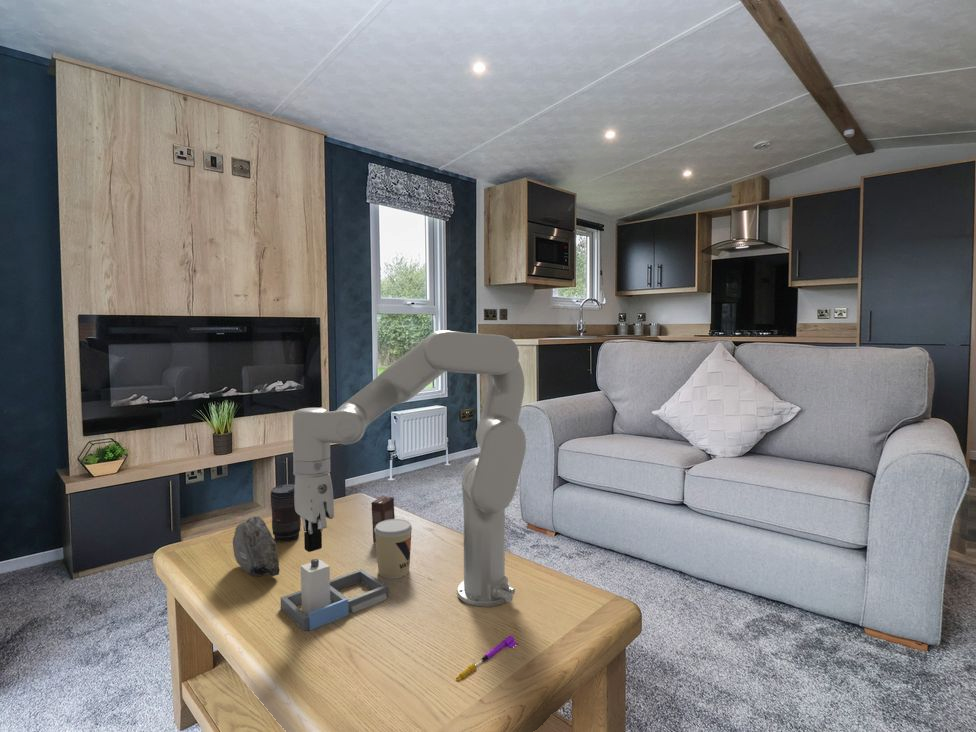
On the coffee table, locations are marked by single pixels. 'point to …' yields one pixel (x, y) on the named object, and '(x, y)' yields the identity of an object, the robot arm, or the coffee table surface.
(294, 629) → the coffee table surface
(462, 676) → the purple and yellow tool
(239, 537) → the decorative rock
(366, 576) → the divided sorting tray
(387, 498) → the box
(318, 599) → the plug
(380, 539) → the cream lidded canister
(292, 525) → the camera lens
